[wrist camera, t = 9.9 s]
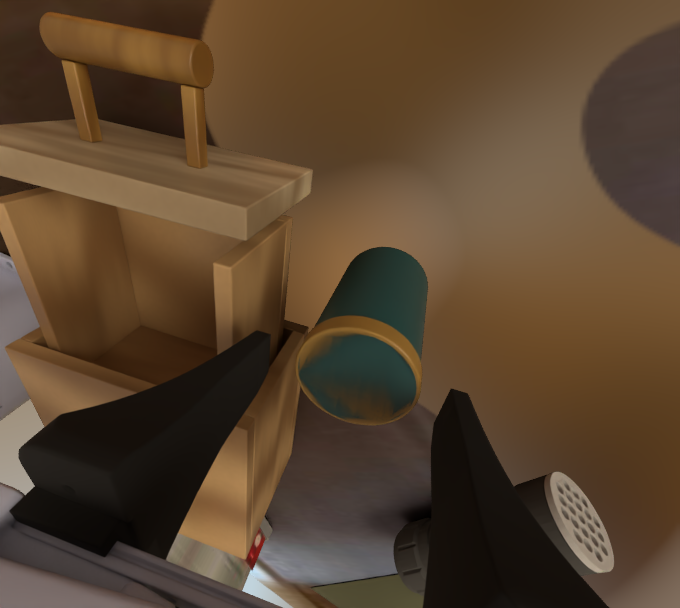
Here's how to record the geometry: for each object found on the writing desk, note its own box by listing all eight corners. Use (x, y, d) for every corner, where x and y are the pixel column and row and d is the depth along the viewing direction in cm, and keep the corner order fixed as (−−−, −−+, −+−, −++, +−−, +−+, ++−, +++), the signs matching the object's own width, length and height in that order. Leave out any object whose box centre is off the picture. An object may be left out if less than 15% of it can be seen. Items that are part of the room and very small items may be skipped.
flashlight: (434, 544, 33) (432, 615, 28) (391, 513, 32) (382, 582, 28) (595, 498, 24) (628, 590, 20) (542, 455, 23) (564, 541, 19)
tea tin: (337, 308, 22) (289, 403, 15) (351, 235, 19) (300, 311, 12) (415, 331, 21) (401, 440, 14) (441, 258, 18) (439, 352, 12)
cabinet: (130, 273, 25) (3, 346, 18) (308, 326, 23) (247, 431, 16) (157, 406, 33) (77, 493, 26) (291, 453, 31) (245, 560, 24)
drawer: (71, 16, 16) (-132, -25, 10) (325, 64, 14) (247, 48, 9) (135, 319, 26) (49, 382, 20) (291, 368, 24) (244, 452, 19)
